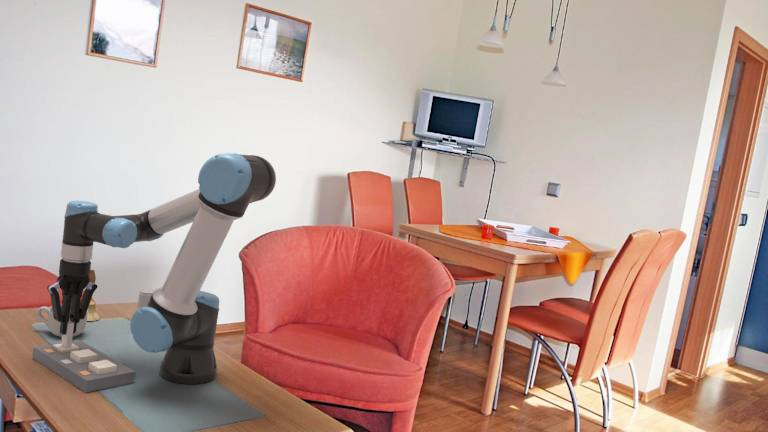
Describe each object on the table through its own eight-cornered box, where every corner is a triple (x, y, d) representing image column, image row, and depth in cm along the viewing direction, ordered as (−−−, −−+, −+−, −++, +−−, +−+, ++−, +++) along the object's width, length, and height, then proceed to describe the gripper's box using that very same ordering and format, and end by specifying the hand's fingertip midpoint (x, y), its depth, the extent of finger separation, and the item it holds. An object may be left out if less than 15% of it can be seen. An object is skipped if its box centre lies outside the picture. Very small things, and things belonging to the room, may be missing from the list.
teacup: (92, 333, 206) (95, 307, 205) (72, 343, 195) (75, 316, 194) (49, 325, 207) (51, 299, 206) (27, 334, 196) (29, 307, 195)
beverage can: (135, 324, 220) (139, 288, 218) (150, 325, 221) (155, 289, 220) (135, 329, 215) (139, 292, 214) (151, 330, 217) (155, 293, 216)
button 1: (78, 355, 182) (79, 347, 182) (61, 358, 178) (62, 350, 178) (69, 350, 185) (70, 342, 185) (52, 352, 181) (53, 344, 181)
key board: (134, 382, 174) (135, 371, 173) (85, 392, 163) (87, 380, 163) (79, 350, 190) (80, 339, 189) (32, 357, 179) (33, 346, 179)
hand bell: (79, 313, 223) (85, 265, 221) (104, 317, 223) (110, 270, 221) (67, 319, 214) (72, 270, 213) (92, 323, 214) (98, 274, 213)
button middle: (96, 362, 177) (97, 354, 176) (79, 365, 173) (80, 357, 173) (87, 356, 179) (88, 348, 179) (69, 359, 176) (70, 351, 175)
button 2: (115, 373, 171) (116, 365, 171) (98, 377, 167) (99, 368, 167) (105, 367, 174) (106, 359, 174) (87, 371, 170) (88, 362, 170)
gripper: (91, 255, 186) (82, 338, 189) (44, 257, 176) (34, 344, 178) (106, 261, 182) (96, 346, 184) (58, 263, 172) (48, 353, 174)
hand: (66, 345), depth 181 cm, fingers closed
